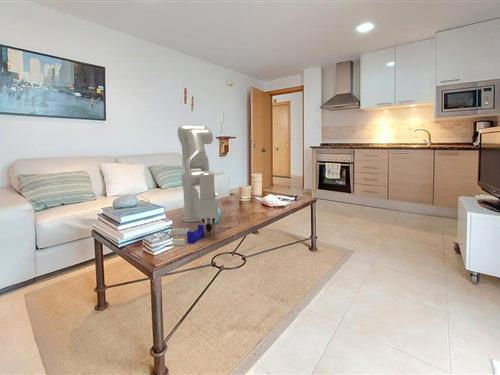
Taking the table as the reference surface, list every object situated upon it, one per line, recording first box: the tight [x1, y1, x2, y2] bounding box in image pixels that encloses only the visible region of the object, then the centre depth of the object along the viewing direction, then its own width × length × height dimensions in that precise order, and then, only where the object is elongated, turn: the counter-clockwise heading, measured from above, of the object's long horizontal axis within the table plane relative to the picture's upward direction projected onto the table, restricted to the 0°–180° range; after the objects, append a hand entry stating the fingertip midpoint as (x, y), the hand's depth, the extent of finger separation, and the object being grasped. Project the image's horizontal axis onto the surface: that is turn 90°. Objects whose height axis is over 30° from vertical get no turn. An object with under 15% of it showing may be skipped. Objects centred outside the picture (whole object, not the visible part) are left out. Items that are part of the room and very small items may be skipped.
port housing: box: [167, 227, 190, 247], centre depth 137 cm, size 17×10×3 cm, turn 6°
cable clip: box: [186, 224, 205, 244], centre depth 138 cm, size 12×4×6 cm, turn 160°
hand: (208, 231), depth 138 cm, fingers closed
